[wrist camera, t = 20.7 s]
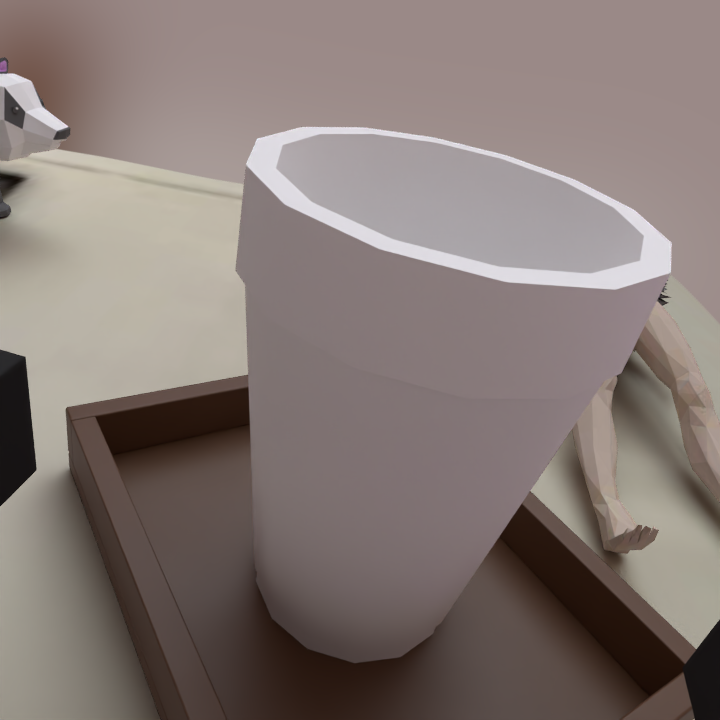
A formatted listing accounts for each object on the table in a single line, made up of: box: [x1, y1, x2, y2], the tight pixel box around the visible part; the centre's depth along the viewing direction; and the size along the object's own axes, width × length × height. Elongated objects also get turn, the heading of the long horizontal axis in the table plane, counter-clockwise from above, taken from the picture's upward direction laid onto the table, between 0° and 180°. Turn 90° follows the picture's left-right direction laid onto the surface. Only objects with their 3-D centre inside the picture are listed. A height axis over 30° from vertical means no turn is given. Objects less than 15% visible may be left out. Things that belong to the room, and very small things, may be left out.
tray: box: [66, 375, 696, 720], centre depth 21 cm, size 18×14×3 cm
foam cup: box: [236, 127, 671, 663], centre depth 18 cm, size 10×9×13 cm
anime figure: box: [572, 280, 720, 554], centre depth 36 cm, size 10×7×30 cm
